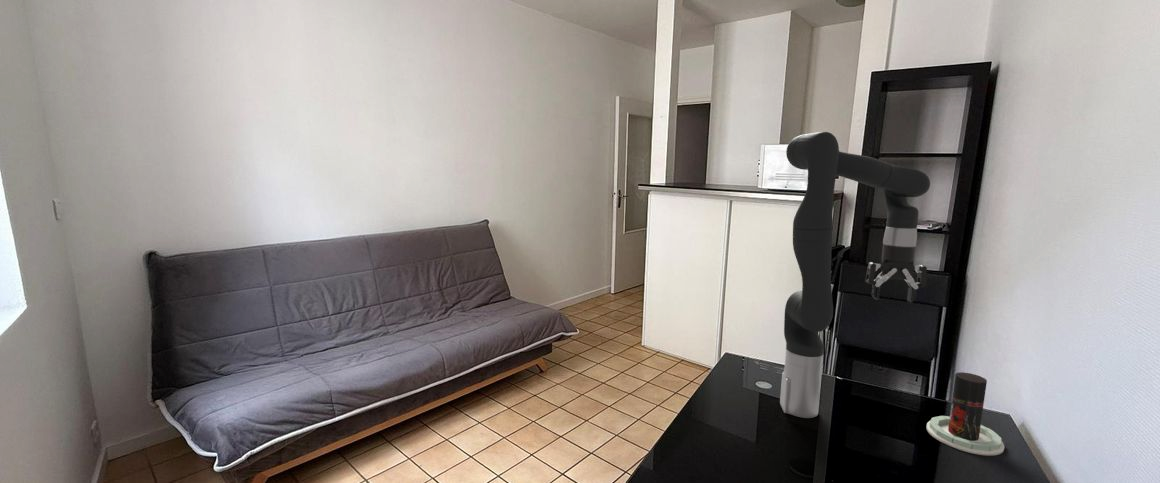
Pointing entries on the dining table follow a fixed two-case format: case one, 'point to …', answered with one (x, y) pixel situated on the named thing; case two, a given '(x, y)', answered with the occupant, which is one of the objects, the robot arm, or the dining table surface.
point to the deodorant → (967, 406)
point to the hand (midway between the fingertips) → (893, 300)
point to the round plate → (984, 445)
